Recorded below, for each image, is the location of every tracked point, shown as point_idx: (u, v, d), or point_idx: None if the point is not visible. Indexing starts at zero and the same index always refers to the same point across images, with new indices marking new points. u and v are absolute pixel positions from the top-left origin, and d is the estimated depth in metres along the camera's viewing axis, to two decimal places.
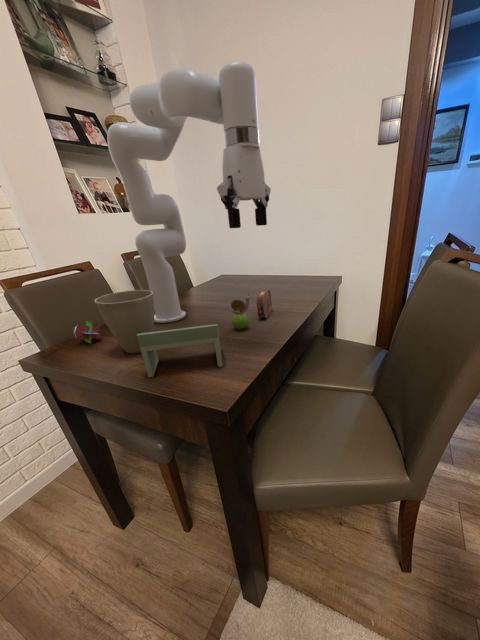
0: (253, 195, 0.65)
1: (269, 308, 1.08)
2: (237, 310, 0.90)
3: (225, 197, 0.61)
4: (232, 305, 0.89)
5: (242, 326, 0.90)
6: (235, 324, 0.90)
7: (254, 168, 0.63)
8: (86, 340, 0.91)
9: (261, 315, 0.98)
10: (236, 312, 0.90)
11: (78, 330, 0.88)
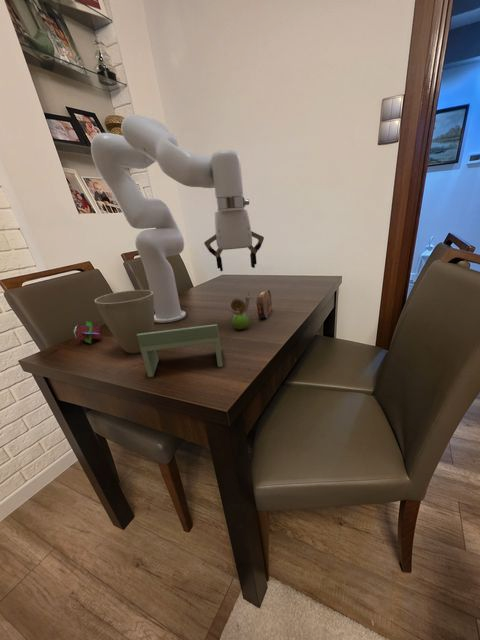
0: (236, 246, 0.80)
1: (269, 308, 1.08)
2: (237, 310, 0.90)
3: (209, 249, 0.80)
4: (232, 305, 0.89)
5: (242, 326, 0.90)
6: (235, 324, 0.90)
7: (235, 226, 0.77)
8: (86, 340, 0.91)
9: (261, 315, 0.98)
10: (236, 312, 0.90)
11: (78, 330, 0.88)
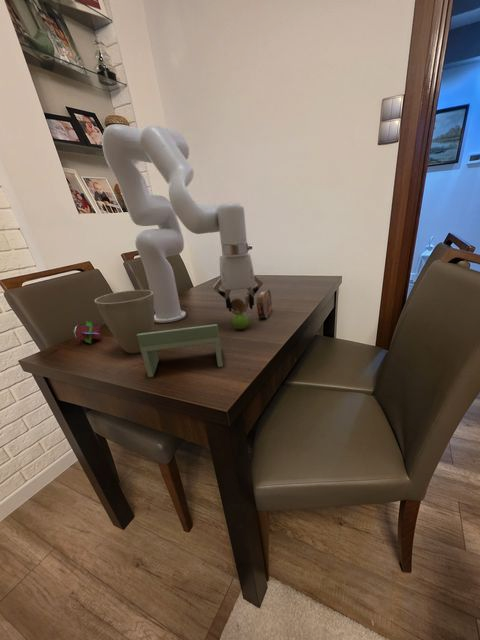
0: (239, 287, 0.85)
1: (269, 308, 1.08)
2: (237, 310, 0.90)
3: (219, 292, 0.86)
4: (232, 305, 0.89)
5: (242, 326, 0.90)
6: (235, 324, 0.90)
7: (239, 269, 0.82)
8: (86, 340, 0.91)
9: (261, 315, 0.98)
10: (236, 312, 0.90)
11: (78, 330, 0.88)
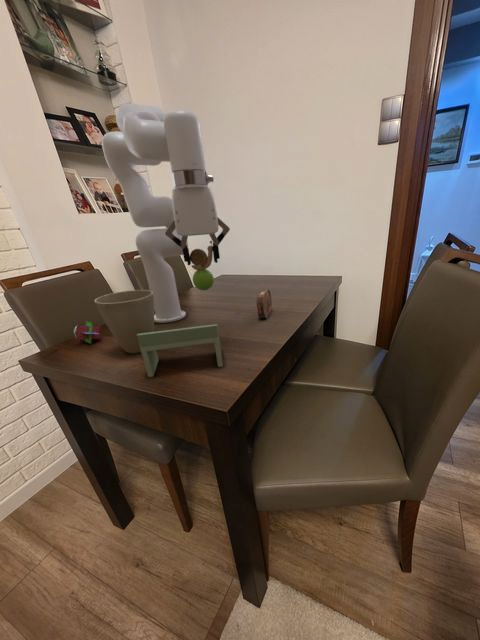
0: (198, 232, 0.67)
1: (269, 308, 1.08)
2: (198, 264, 0.72)
3: (173, 239, 0.67)
4: (191, 258, 0.71)
5: (205, 284, 0.72)
6: (196, 282, 0.72)
7: (197, 207, 0.64)
8: (86, 340, 0.91)
9: (261, 315, 0.98)
10: (197, 267, 0.72)
11: (78, 330, 0.88)
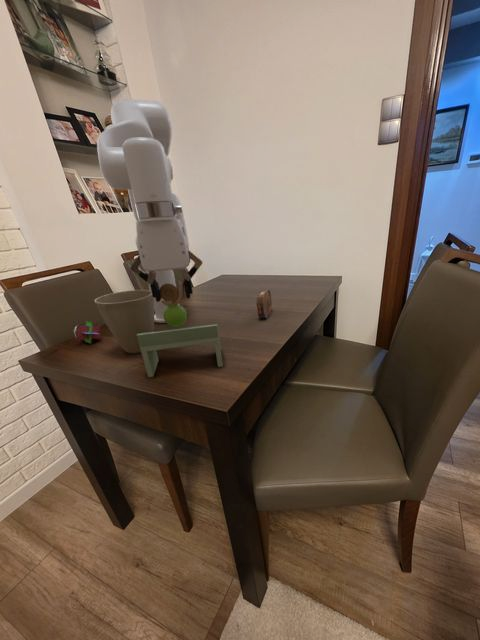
0: (166, 267, 0.60)
1: (269, 308, 1.08)
2: (169, 300, 0.65)
3: (139, 274, 0.61)
4: (161, 293, 0.64)
5: (176, 322, 0.65)
6: (166, 319, 0.65)
7: (163, 240, 0.58)
8: (86, 340, 0.91)
9: (261, 315, 0.98)
10: (168, 303, 0.65)
11: (78, 330, 0.88)
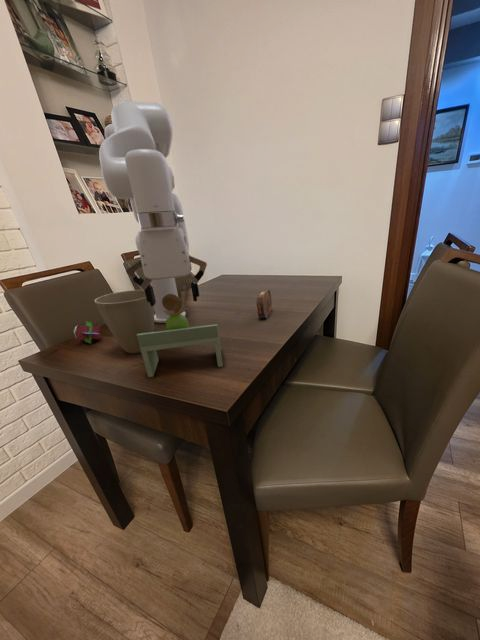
0: (168, 275, 0.61)
1: (269, 308, 1.08)
2: (171, 310, 0.66)
3: (133, 279, 0.62)
4: (164, 303, 0.66)
5: None
6: (168, 329, 0.66)
7: (165, 249, 0.59)
8: (86, 340, 0.91)
9: (261, 315, 0.98)
10: (170, 313, 0.66)
11: (78, 330, 0.88)
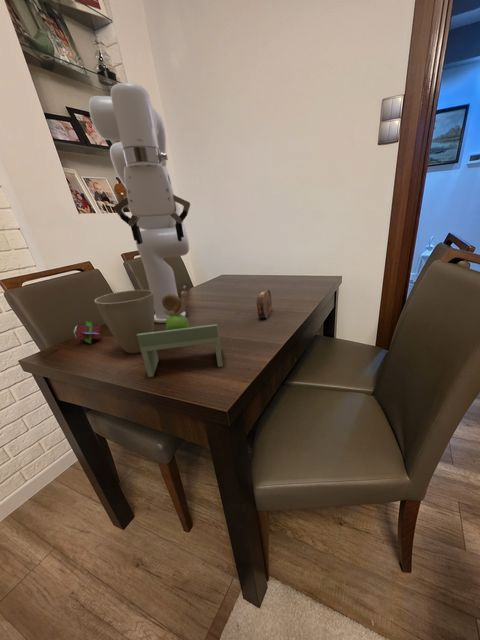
0: (153, 212, 0.65)
1: (269, 308, 1.08)
2: (171, 310, 0.66)
3: (120, 216, 0.65)
4: (164, 303, 0.66)
5: None
6: (168, 329, 0.66)
7: (150, 186, 0.62)
8: (86, 340, 0.91)
9: (261, 315, 0.98)
10: (170, 313, 0.66)
11: (78, 330, 0.88)
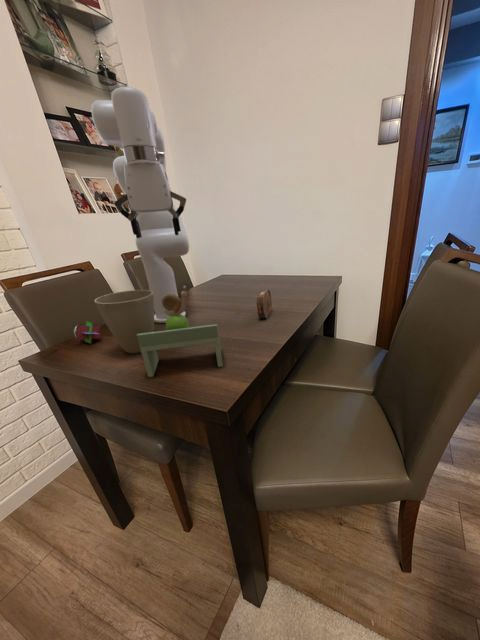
0: (151, 207, 0.69)
1: (269, 308, 1.08)
2: (171, 310, 0.66)
3: (120, 211, 0.69)
4: (164, 303, 0.66)
5: None
6: (168, 329, 0.66)
7: (148, 182, 0.66)
8: (86, 340, 0.91)
9: (261, 315, 0.98)
10: (170, 313, 0.66)
11: (78, 330, 0.88)
